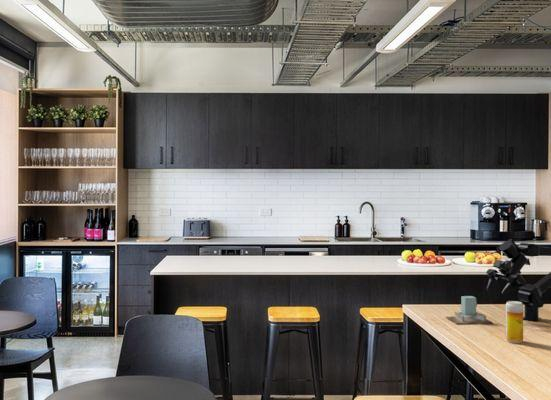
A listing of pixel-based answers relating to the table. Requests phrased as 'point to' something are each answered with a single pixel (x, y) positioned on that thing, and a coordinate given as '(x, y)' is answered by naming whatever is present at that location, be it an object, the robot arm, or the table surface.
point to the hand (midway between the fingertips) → (494, 292)
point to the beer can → (514, 322)
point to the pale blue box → (468, 306)
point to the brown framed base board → (469, 319)
